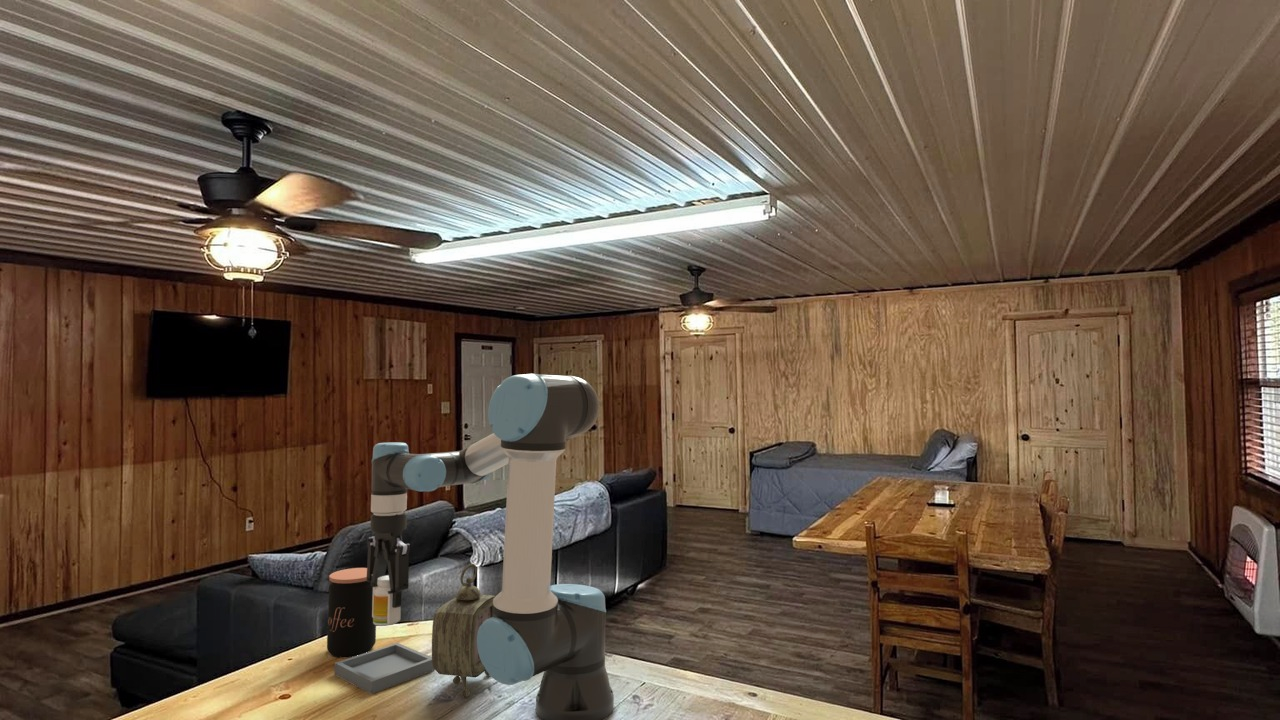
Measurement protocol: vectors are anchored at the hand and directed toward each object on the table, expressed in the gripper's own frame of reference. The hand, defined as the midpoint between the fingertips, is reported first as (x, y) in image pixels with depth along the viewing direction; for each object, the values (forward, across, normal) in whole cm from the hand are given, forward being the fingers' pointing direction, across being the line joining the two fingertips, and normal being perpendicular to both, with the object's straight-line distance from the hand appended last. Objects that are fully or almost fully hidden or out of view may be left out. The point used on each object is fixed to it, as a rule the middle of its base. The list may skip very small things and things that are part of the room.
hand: (386, 618), depth 144 cm
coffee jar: (+12, +18, -2) cm, 22 cm away
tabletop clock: (+12, -19, -7) cm, 24 cm away
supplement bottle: (+1, 0, 0) cm, 1 cm away
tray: (+12, 0, 0) cm, 12 cm away
